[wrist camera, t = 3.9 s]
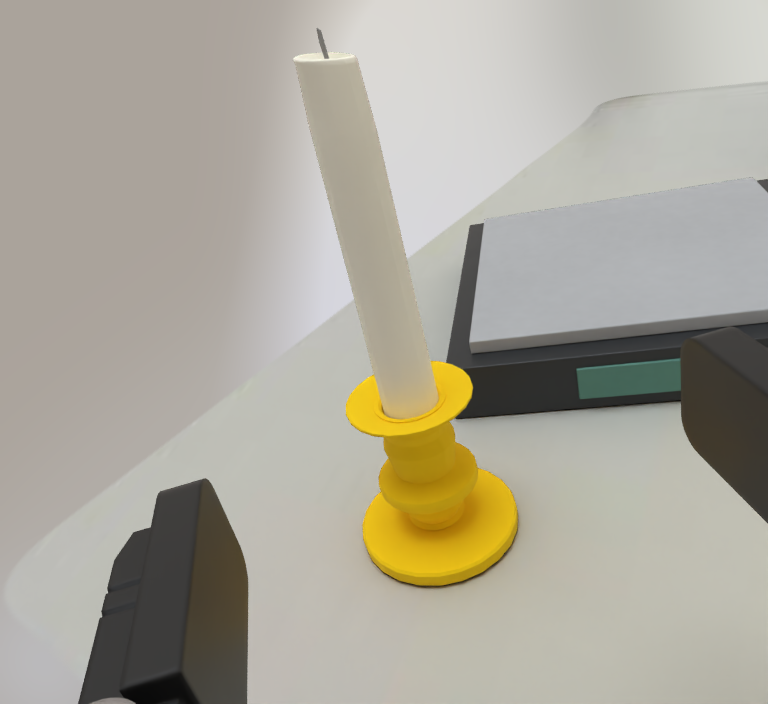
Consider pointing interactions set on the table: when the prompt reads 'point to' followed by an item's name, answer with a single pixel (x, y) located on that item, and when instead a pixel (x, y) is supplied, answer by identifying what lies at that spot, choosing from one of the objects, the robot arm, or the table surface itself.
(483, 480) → the candle
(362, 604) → the table surface
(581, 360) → the kitchen scale
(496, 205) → the table surface
